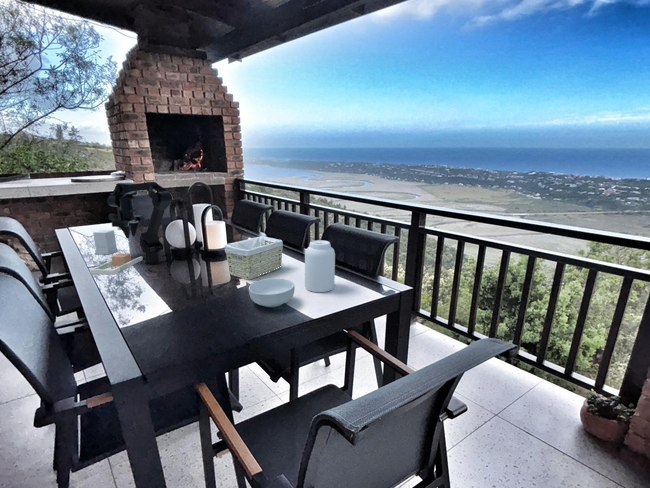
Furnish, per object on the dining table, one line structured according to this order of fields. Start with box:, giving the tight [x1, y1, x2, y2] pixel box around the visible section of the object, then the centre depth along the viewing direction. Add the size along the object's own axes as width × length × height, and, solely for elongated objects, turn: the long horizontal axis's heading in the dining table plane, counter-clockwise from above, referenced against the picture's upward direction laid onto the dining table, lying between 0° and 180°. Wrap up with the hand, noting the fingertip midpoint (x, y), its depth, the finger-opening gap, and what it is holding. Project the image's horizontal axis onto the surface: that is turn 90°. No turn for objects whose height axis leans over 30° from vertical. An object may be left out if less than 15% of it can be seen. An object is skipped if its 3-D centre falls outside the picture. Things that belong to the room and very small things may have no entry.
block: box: [111, 253, 132, 267], centre depth 168 cm, size 6×6×5 cm
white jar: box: [304, 239, 336, 293], centre depth 139 cm, size 12×12×20 cm
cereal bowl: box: [248, 277, 295, 308], centre depth 125 cm, size 17×17×7 cm
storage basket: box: [224, 235, 284, 281], centre depth 159 cm, size 24×16×15 cm
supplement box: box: [92, 229, 118, 255], centre depth 188 cm, size 7×7×13 cm
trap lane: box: [89, 256, 143, 276], centre depth 165 cm, size 11×24×2 cm, turn 178°
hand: (130, 237), depth 175 cm, fingers open, 5 cm apart
